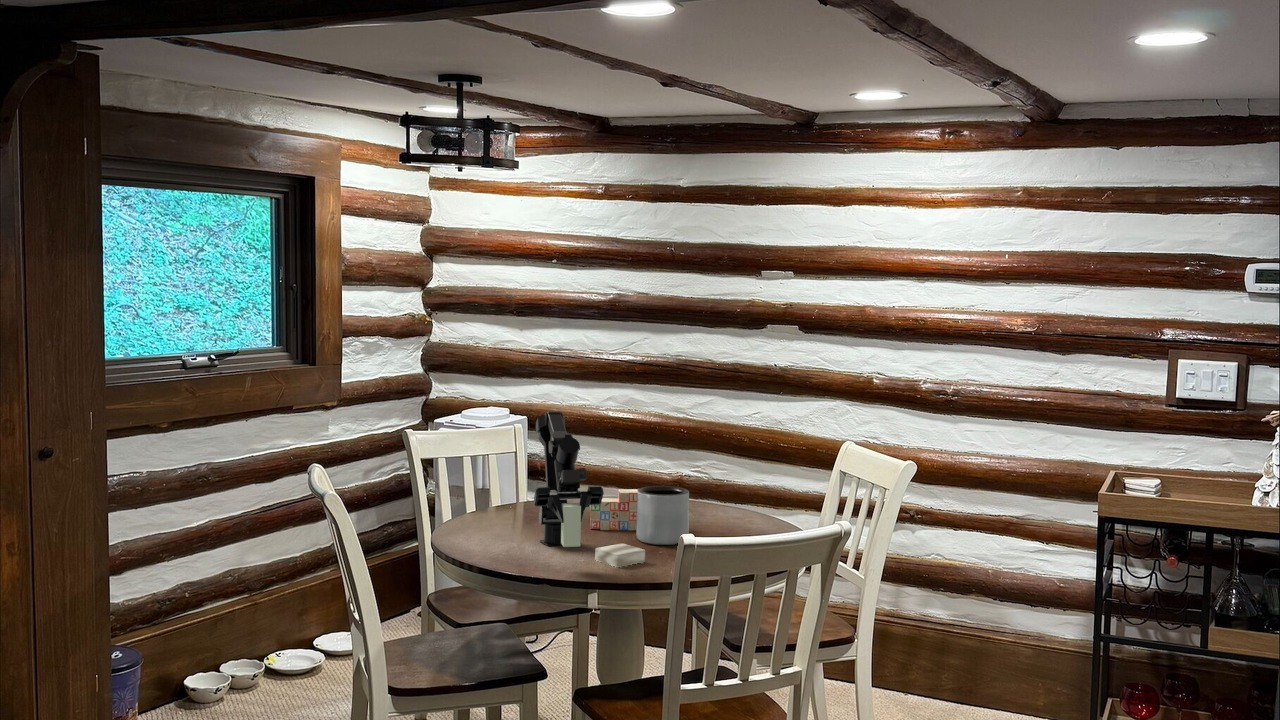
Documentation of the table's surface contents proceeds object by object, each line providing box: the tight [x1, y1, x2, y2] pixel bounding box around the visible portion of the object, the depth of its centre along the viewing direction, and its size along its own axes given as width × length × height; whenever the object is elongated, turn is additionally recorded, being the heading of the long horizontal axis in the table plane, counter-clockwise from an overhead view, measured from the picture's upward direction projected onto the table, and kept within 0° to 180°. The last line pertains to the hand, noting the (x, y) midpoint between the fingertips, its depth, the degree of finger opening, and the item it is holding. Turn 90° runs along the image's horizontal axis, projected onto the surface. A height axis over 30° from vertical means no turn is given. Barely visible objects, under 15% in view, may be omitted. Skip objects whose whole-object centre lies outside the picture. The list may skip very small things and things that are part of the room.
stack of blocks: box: [589, 488, 639, 531], centre depth 358 cm, size 21×6×12 cm, turn 92°
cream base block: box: [594, 542, 646, 568], centre depth 315 cm, size 10×10×4 cm
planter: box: [635, 485, 690, 546], centre depth 342 cm, size 16×16×16 cm
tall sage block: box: [561, 502, 582, 548], centre depth 304 cm, size 5×5×11 cm
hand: (571, 521), depth 303 cm, fingers closed on tall sage block, 5 cm apart
